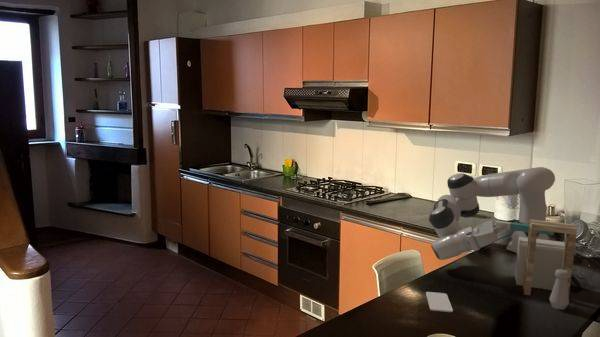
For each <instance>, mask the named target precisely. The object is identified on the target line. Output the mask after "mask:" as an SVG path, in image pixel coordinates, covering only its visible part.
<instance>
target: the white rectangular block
mask: <svg viewBox="0 0 600 337" xmlns="http://www.w3.org/2000/svg"><path fill="white" fill-rule="evenodd" d="M527 243H528V238H525V237H519V240H518V249H517V253H516V260H515V270H514V278H515V279H514V280H515V284H516V286H522V287H523V280H524V270H525V261H526V252H527ZM564 245H565V241H557V240H550V239H548V240H542V239H537V240H536V249H535V258H534V267H533V276H532V285H531V288H535V289H541V288H542V289H543V290H548V291H552V290H553V287H554V284H555V281H556V278H557V277H556V276H555V271H556V270H557V269H562V262H563V253H564Z"/></svg>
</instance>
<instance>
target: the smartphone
mask: <svg viewBox="0 0 600 337" xmlns="http://www.w3.org/2000/svg"><path fill="white" fill-rule="evenodd" d="M425 295H426V299H427V303H428V306H429V309H430V311H431V312H432V311H433V312H442V313H443V312H444V313H445V312H446V313H453V312H454V309H453V307H452V304H451V302H450V299H449V296H448V294H447V293H444V292H433V291H426V292H425Z"/></svg>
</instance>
